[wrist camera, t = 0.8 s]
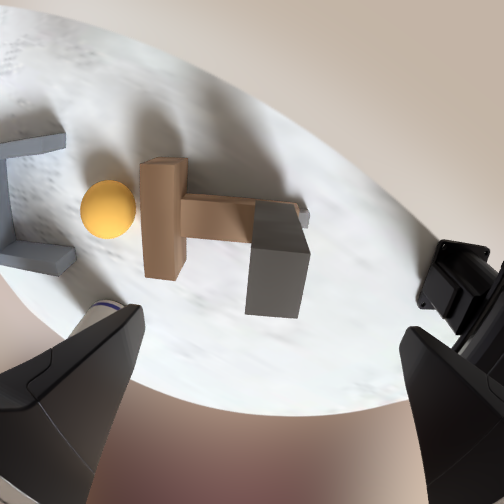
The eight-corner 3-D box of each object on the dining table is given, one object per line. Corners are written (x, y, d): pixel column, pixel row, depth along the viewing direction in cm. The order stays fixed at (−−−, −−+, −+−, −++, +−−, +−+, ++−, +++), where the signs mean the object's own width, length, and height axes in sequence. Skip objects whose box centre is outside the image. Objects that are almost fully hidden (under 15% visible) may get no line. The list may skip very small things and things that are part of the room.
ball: (144, 175, 19) (119, 188, 16) (145, 228, 21) (123, 251, 17) (96, 174, 19) (66, 187, 16) (100, 224, 21) (73, 245, 17)
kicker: (301, 167, 17) (330, 203, 10) (287, 269, 20) (298, 352, 13) (158, 156, 17) (90, 185, 10) (159, 256, 20) (111, 329, 13)
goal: (65, 132, 18) (13, 143, 12) (76, 259, 22) (38, 296, 17) (-2, 143, 18) (-48, 157, 12) (11, 250, 22) (-26, 278, 17)
